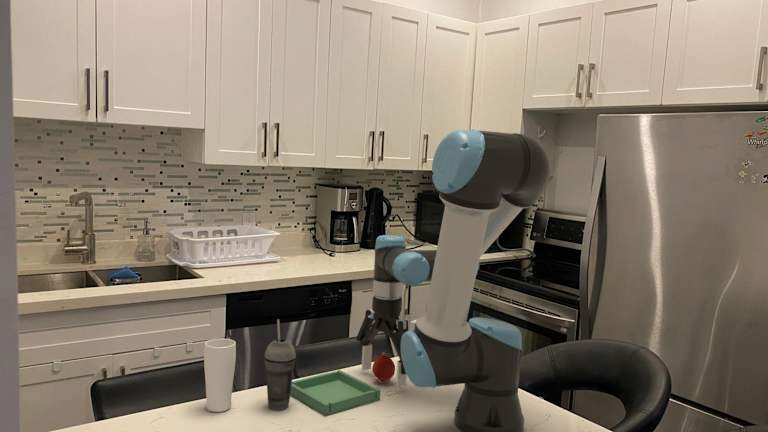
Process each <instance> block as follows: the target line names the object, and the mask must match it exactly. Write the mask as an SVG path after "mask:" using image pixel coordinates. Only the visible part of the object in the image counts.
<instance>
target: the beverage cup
mask: <svg viewBox="0 0 768 432" xmlns="http://www.w3.org/2000/svg"><path fill="white" fill-rule="evenodd" d="M276 323H277V339H274V340H272V341H271V342H270V343H269V344H268V346H267V347H266V350H265V352H264V356H263V359H264V366H265V372H266V391H267V393H266V394H267V404H268V405H267V406H268V408H269V410H272V411H276V412H277V411H278V412H279V411H285V410H287V409H288V408H289V404H290V401H291V400H290V399H291V395H290V393H291V385H292V381H293V376H294V375H293V374H294V368H295V364H296V360H297V353H296V349H295V347H294V345H293V344H292V342H290V341H289V340H288V339H285V338H281V326H280V319H276Z"/></svg>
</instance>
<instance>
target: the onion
mask: <svg viewBox="0 0 768 432" xmlns="http://www.w3.org/2000/svg"><path fill="white" fill-rule="evenodd" d="M371 370H372V371H371V372H372V373H373V375H374V378H376V379H377V380H378V381H379V382H380V383H381V384H385V383H386V382H387V381H389V380H391V379H392V378H393V377H394V375H395V371H396V365H395V363H394V360H392V358H391V357H390V356H389V355H387V353H386V352H385V351H382V352H381V355H380V356H378V357H377V358H376V359H375V360H374V362H373V364H372V366H371Z"/></svg>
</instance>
